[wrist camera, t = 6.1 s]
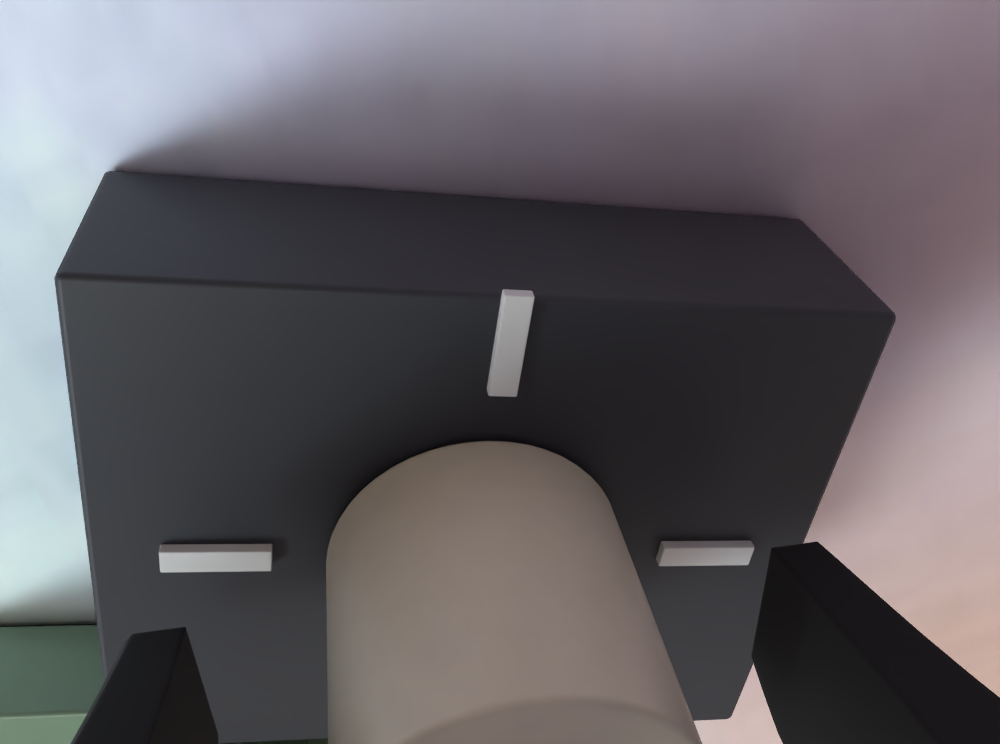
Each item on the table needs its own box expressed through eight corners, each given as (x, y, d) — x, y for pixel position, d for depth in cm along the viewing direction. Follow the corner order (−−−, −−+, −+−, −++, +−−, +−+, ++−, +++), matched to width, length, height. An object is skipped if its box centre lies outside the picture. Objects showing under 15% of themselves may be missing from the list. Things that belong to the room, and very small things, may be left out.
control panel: (804, 211, 14) (910, 315, 12) (676, 595, 19) (733, 732, 16) (103, 160, 12) (47, 272, 10) (142, 605, 17) (109, 765, 14)
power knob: (623, 421, 12) (746, 699, 9) (609, 633, 14) (704, 922, 11) (307, 457, 12) (302, 766, 8) (343, 669, 14) (352, 985, 10)
